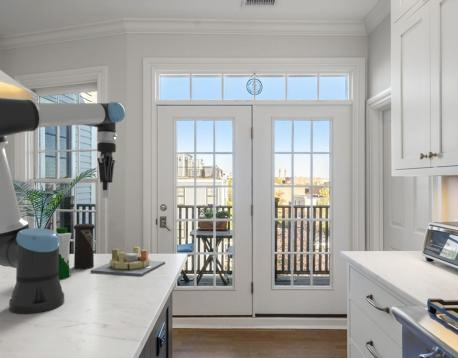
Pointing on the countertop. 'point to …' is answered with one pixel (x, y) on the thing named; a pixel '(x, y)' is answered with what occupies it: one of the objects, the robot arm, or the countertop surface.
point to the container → (84, 246)
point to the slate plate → (134, 272)
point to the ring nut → (120, 262)
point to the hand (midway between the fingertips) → (106, 197)
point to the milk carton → (63, 252)
